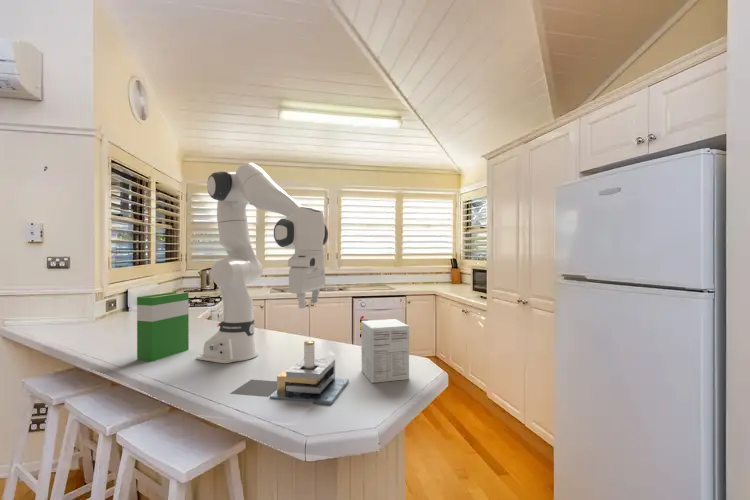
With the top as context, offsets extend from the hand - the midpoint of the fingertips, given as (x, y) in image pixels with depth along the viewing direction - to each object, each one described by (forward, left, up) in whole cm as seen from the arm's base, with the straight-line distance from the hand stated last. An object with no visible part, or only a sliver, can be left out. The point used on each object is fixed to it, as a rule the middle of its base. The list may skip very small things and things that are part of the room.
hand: (308, 305), depth 115 cm
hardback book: (-71, +24, -26) cm, 79 cm away
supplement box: (+20, +17, -26) cm, 37 cm away
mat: (-15, -3, -25) cm, 29 cm away
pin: (+1, -3, -24) cm, 24 cm away
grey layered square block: (+1, -1, -25) cm, 25 cm away
